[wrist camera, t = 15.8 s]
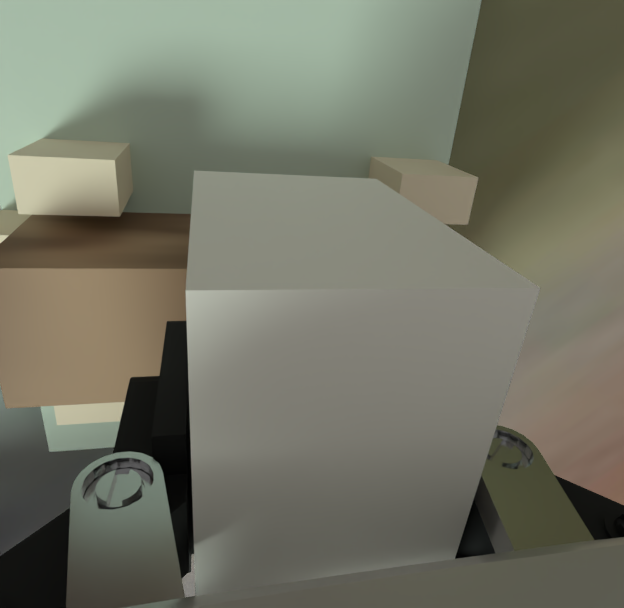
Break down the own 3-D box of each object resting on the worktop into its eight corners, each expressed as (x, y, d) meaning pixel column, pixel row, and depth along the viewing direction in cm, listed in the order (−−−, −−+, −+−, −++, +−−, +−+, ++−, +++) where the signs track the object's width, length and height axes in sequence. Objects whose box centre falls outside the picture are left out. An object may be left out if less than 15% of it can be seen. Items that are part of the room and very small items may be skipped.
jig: (57, 432, 21) (26, 512, 17) (-107, -453, 10) (-279, -741, 7) (387, 410, 24) (421, 473, 20) (516, -277, 14) (634, -404, 10)
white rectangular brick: (201, 488, 14) (200, 747, 9) (193, 170, 10) (185, 290, 5) (334, 475, 15) (408, 704, 9) (376, 178, 11) (540, 287, 6)
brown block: (55, 319, 17) (5, 408, 13) (37, 209, 15) (-28, 268, 11) (397, 313, 20) (452, 384, 16) (414, 219, 18) (481, 269, 14)
